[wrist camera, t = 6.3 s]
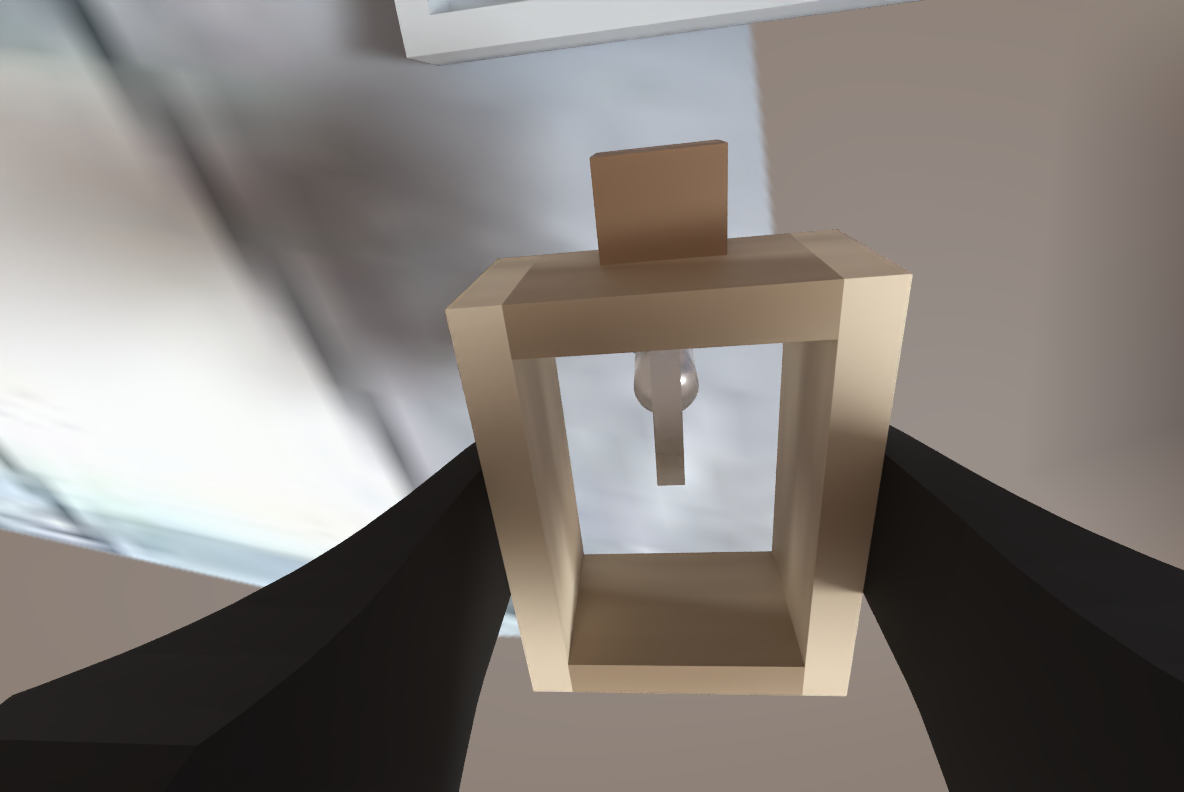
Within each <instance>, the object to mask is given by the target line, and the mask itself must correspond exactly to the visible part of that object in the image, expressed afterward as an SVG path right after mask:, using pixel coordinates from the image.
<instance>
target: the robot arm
mask: <svg viewBox="0 0 1184 792" xmlns="http://www.w3.org/2000/svg"><path fill="white" fill-rule="evenodd" d="M863 593H864V595H865V597H866V599H867V602H868V604H869V606H870V608H871V610H872V612H873V614H874V615H875V618H876V620H877V622H878V624H879V626H880V628H881V630H882V632H883V634H884V636H885V639H886V640H887V642H888V645H889V647H890V649H891V651H892V653H893V655H894V657H895V659H896V661H897V663H898V665H899V667H900V669H901V671H902V673H903V675H904V677H905V680H906V681H907V684H908V686H909V688H910V690H911V693H912V695H913V697H914V700H915V702H916V704H917V707H918V709H919V711H920V713H921V716H922V719H923V722H924V724H925V727H926V730H927V732H928V735H929V738H930V740H931V743H932V746H933V748H934V751H935V754H936V757H937V759H938V762H939V765H940V768H941V770H942V773H943V776H944V778H945V781H946V784H947V787H948V790H949V792H1184V570H1182V569H1179V568H1177V567H1174V566H1172V565H1169V564H1167V563H1164V562H1161V561H1159V560H1156V559H1154V558H1151V557H1149V556H1147V555H1144V554H1142V553H1140V552H1137V551H1135V550H1133V549H1130V548H1128V547H1126V546H1123V545H1121V544H1119V543H1116V542H1114V541H1112V540H1109V539H1107V538H1105V537H1102V536H1100V535H1098V534H1095V533H1093V532H1091V531H1089V530H1086V529H1084V528H1082V527H1080V526H1078V525H1076V524H1073V523H1071V522H1069V521H1067V520H1065V519H1063V518H1061V517H1059V516H1057V515H1055V514H1053V513H1051V512H1049V511H1047V510H1045V509H1043V508H1041V507H1039V506H1037V505H1035V504H1033V503H1031V502H1029V501H1027V500H1025V499H1023V498H1021V497H1019V496H1017V495H1015V494H1013V493H1011V492H1009V491H1007V490H1005V489H1004V488H1002V487H1000V486H998V485H996V484H994V483H992V482H990V481H989V480H987V479H985V478H983V477H981V476H979V475H978V474H976V473H974V472H972V471H970V470H969V469H967V468H965V467H963V466H961V465H960V464H958V463H956V462H955V461H953V460H951V459H949V458H948V457H946V456H944V455H942V454H941V453H939V452H937V451H935V450H934V449H932V448H930V447H928V446H927V445H925V444H923V443H921V442H920V441H918V440H916V439H914V438H913V437H911V436H909V435H907V434H905V433H904V432H902V431H900V430H898V429H896V428H894V427H892V426H890V425H889V429H888V436H887V442H886V448H885V455H884V461H883V467H882V474H881V480H880V487H879V493H878V499H877V506H876V512H875V518H874V525H873V531H872V538H871V544H870V550H869V557H868V563H867V569H866V576H865V582H864V589H863ZM510 596H511V592H510V588H509V583H508V579H507V575H506V570H505V566H504V562H503V558H502V553H501V549H500V545H499V540H498V536H497V532H496V528H495V523H494V519H493V515H492V510H491V506H490V502H489V497H488V493H487V489H486V485H485V480H484V476H483V472H482V467H481V463H480V459H479V455H478V450H477V446H476V442H474V443H473V444H472V445H470V446H469V447H468V448H466V449H465V450H464V451H462V452H461V453H460V454H459V455H457V456H456V457H455V458H454V459H452V460H451V461H450V462H449V463H447V464H446V465H445V466H444V467H443V468H441V469H440V470H439V471H438V472H436V473H435V474H434V475H433V476H431V477H430V478H429V479H428V480H426V481H425V482H424V483H423V484H421V485H420V486H419V487H418V488H416V489H415V490H414V491H412V492H411V493H410V494H409V495H407V496H406V497H405V498H403V499H402V500H401V501H399V502H398V503H397V504H395V505H394V506H392V507H391V508H390V509H388V510H387V511H386V512H384V513H383V514H382V515H380V516H379V517H377V518H376V519H375V520H373V521H372V522H371V523H369V524H368V525H366V526H365V527H364V528H362V529H361V530H359V531H358V532H356V533H355V534H353V535H352V536H351V537H349V538H347V539H346V540H344V541H343V542H341V543H340V544H338V545H337V546H335V547H334V548H332V549H330V550H329V551H327V552H325V553H324V554H322V555H320V556H319V557H317V558H316V559H314V560H312V561H311V562H309V563H307V564H306V565H304V566H302V567H300V568H299V569H297V570H295V571H294V572H292V573H290V574H288V575H286V576H284V577H282V578H280V579H279V580H277V581H275V582H273V583H271V584H269V585H267V586H265V587H263V588H262V589H260V590H258V591H256V592H254V593H252V594H250V595H248V596H247V597H245V598H243V599H241V600H239V601H237V602H235V603H233V604H231V605H229V606H227V607H225V608H223V609H221V610H219V611H217V612H215V613H213V614H210V615H208V616H206V617H204V618H202V619H200V620H198V621H196V622H194V623H192V624H189V625H187V626H185V627H182V628H180V629H178V630H176V631H173V632H171V633H169V634H167V635H164V636H162V637H160V638H158V639H155V640H153V641H151V642H148V643H146V644H144V645H141V646H139V647H137V648H134V649H132V650H129V651H127V652H125V653H122V654H120V655H117V656H114V657H112V658H110V659H107V660H104V661H102V662H99V663H97V664H94V665H91V666H89V667H86V668H84V669H81V670H79V671H76V672H73V673H71V674H68V675H65V676H63V677H60V678H58V679H55V680H52V681H50V682H47V683H45V684H42V685H39V686H37V687H34V688H31V689H28V690H26V691H23V692H20V693H17V694H15V695H12V696H11V697H9V698H8V699H7V700H5V701H4V702H3V703H2V704H1V705H0V792H459V788H460V782H461V778H462V772H463V767H464V762H465V758H466V753H467V748H468V744H469V739H470V734H471V730H472V725H473V720H474V716H475V711H476V707H477V702H478V698H479V695H480V691H481V688H482V684H483V680H484V677H485V674H486V671H487V668H488V665H489V662H490V658H491V655H492V652H493V649H494V646H495V643H496V640H497V637H498V634H499V630H500V627H501V624H502V621H503V618H504V615H505V612H506V609H507V606H508V602H509V599H510Z"/></svg>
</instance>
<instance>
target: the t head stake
mask: <svg viewBox="0 0 1184 792" xmlns="http://www.w3.org/2000/svg"><path fill="white" fill-rule="evenodd" d="M692 349H693V348H691V349H675V350H659V351H643V352H633V353H635V374H634V392H635V395H636V397H637V399H638V401H639V402H640V404H641V405H642V406H643V407H644V408H646V409H647V410H649V411H651V412H653V421H654V437H655V453H656V469H657V485H658V486H662V485H685V475H684V447H683V419H682V410H684V409H686V408H687V407H688V406H690V404H691V403H692V402H693V401H694V399H695V397H696V395H697V393H698V378H697V373H696V367H695V362H694V357H693V352H692Z"/></svg>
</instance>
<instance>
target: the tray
mask: <svg viewBox="0 0 1184 792" xmlns="http://www.w3.org/2000/svg"><path fill="white" fill-rule="evenodd" d="M394 1H395V6H396V11H397V15H398V20H399V24H400V29H401V34H402V38H403V43H404V47H405V52H406V56H407V58H410V59H414V60H418V61H422V62H426V63H430V64H435V65H447V64H454V63H462V62H469V61H476V60H484V59H491V58H499V57H506V56H514V55H521V54H528V53H536V52H543V51H551V50H558V49H565V48H573V47H580V46H588V45H595V44H602V43H610V42H617V41H625V40H632V39H639V38H647V37H654V36H662V35H669V34H676V33H684V32H691V31H699V30H706V29H713V28H721V27H728V26H736V25H743V24H750V23H758V22H765V21H772V20H780V19H787V18H795V17H802V16H810V15H817V14H825V13H832V12H839V11H847V10H854V9H861V8H869V7H876V6H884V5H891V4H899V3H906V2H913V1H921V0H394Z"/></svg>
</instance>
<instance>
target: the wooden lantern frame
mask: <svg viewBox="0 0 1184 792" xmlns="http://www.w3.org/2000/svg"><path fill="white" fill-rule="evenodd" d="M590 167H591V177H592V187H593V197H594V207H595V217H596V228H597V238H598V248H599V250H592V251H581V252H569V253H558V254H546V255H535V256H523V257H512V258H501V259H497V260H496V261H495V262H494V263H493V264H492V265H491V266H490V267H489V268H488V269H487V270H486V271H484V272H483V273H482V274H481V275H480V276H479V277H478V278H477V279H476V280H475V281H474V282H473V283H472V284H471V285H470V286H469V287H468V288H467V289H466V290H465V291H464V292H463V293H461V294H460V295H459V296H458V297H457V298H456V299H455V300H454V301H453V302H452V303H451V304H450V305H449V306H448V307H447V308H446V309H445V313H446V317H447V321H448V326H449V330H450V334H451V339H452V343H453V347H454V352H455V356H456V360H457V364H458V369H459V373H460V377H461V382H462V386H463V390H464V394H465V399H466V403H467V407H468V412H469V416H470V420H471V424H472V429H473V433H474V437H475V442H476V446H477V450H478V455H479V459H480V463H481V467H482V472H483V476H484V480H485V485H486V489H487V493H488V497H489V502H490V506H491V510H492V515H493V519H494V523H495V528H496V532H497V536H498V540H499V545H500V549H501V553H502V558H503V562H504V566H505V570H506V575H507V579H508V583H509V588H510V592H511V596H512V600H513V605H514V609H515V613H516V618H517V622H518V626H519V631H520V635H521V639H522V643H523V648H524V652H525V656H526V661H527V664H528V669H529V673H530V678H531V682H532V686H533V690H534V691H549V692H613V693H679V694H681V693H682V694H743V695H745V694H746V695H808V696H810V695H811V696H812V695H813V696H814V695H815V696H847V690H848V683H849V678H850V671H851V665H852V658H853V652H854V646H855V639H856V633H857V627H858V620H859V614H860V608H861V601H862V595H863V589H864V582H865V576H866V569H867V563H868V557H869V550H870V544H871V538H872V531H873V525H874V518H875V512H876V506H877V499H878V493H879V487H880V480H881V474H882V467H883V461H884V455H885V448H886V442H887V436H888V429H889V423H890V416H891V410H892V404H893V397H894V391H895V385H896V378H897V371H898V366H899V359H900V352H901V346H902V340H903V334H904V327H905V321H906V315H907V308H908V302H909V295H910V289H911V282H912V276H913V274H912V273H911V272H909V271H907V270H906V269H904V268H902V267H901V266H899V265H897V264H896V263H894V262H892V261H891V260H889V259H887V258H885V257H884V256H882V255H880V254H879V253H877V252H875V251H874V250H872V249H870V248H869V247H867V246H865V245H864V244H862V243H860V242H858V241H857V240H855V239H853V238H852V237H850V236H848V235H847V234H845V233H843V232H842V231H840V230H838V229H832V230H821V231H809V232H798V233H787V234H775V235H763V236H752V237H741V238H729V239H727V193H728V143H727V142H724V141H721V140H709V141H700V142H691V143H682V144H673V145H664V146H655V147H646V148H636V149H627V150H618V151H609V152H600V153H596V154H594V155H593V156H591V157H590ZM770 343H783V356H782V374H781V393H780V412H779V430H778V449H777V467H776V486H775V504H774V523H773V542H772V551H767V552H707V553H647V554H587V555H584V552H583V546H582V539H581V532H580V525H579V518H578V511H577V504H576V498H575V491H574V484H573V477H572V470H571V463H570V456H569V449H568V443H567V436H566V429H565V422H564V415H563V408H562V401H561V395H560V388H559V381H558V374H557V367H556V360H555V357H564V356H580V355H596V354H612V353H627V352H643V351H659V350H675V349H691V348H707V347H722V346H738V345H754V344H770Z"/></svg>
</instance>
